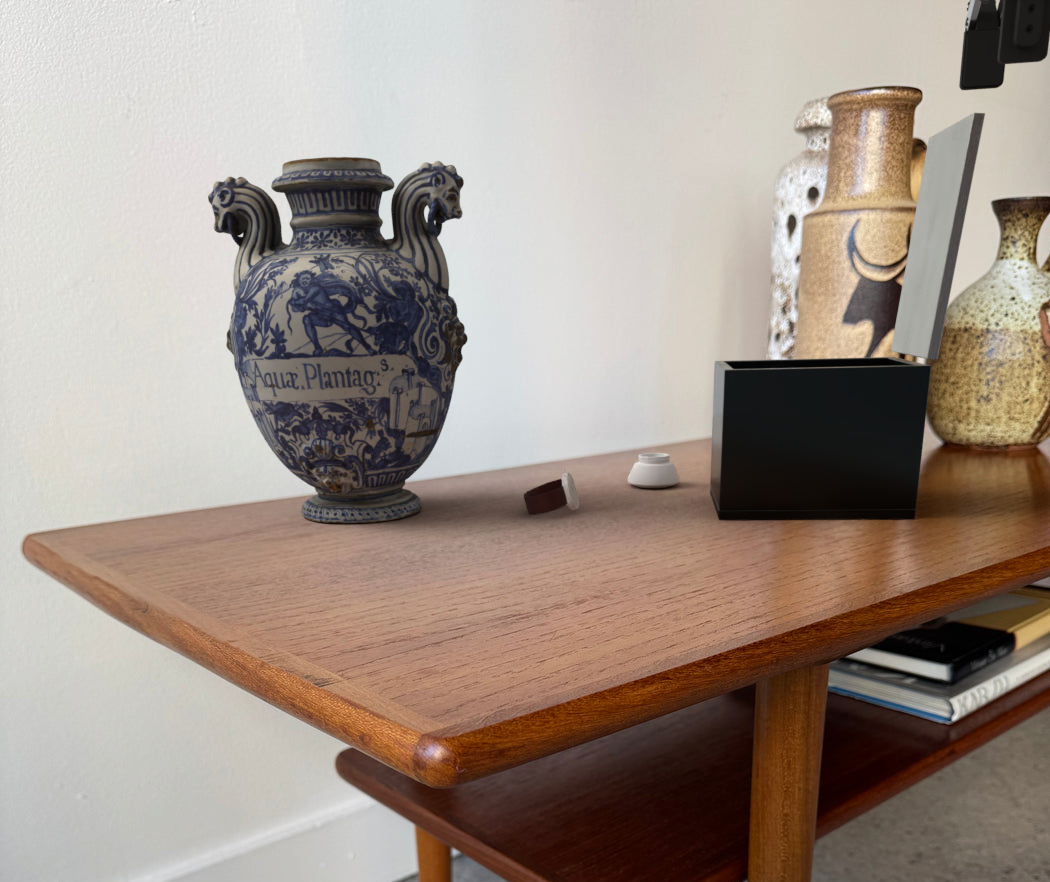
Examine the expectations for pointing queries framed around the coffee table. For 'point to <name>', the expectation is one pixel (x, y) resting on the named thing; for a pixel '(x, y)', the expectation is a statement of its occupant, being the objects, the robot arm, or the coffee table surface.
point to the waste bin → (817, 438)
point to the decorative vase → (345, 327)
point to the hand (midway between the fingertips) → (1000, 76)
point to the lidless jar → (653, 471)
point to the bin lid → (936, 237)
